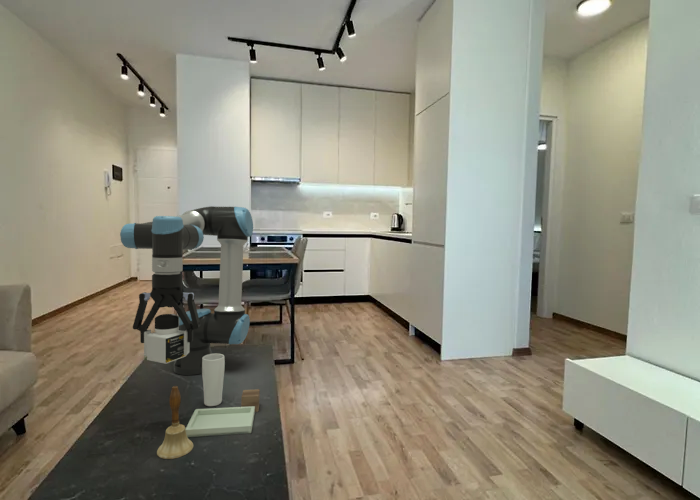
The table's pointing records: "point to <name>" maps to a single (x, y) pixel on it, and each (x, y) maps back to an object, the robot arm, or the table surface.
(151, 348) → the medicine bottle
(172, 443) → the hand bell
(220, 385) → the drinking glass
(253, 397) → the walnut block
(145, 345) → the robot arm
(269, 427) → the table surface
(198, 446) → the table surface
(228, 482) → the table surface
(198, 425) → the tray
